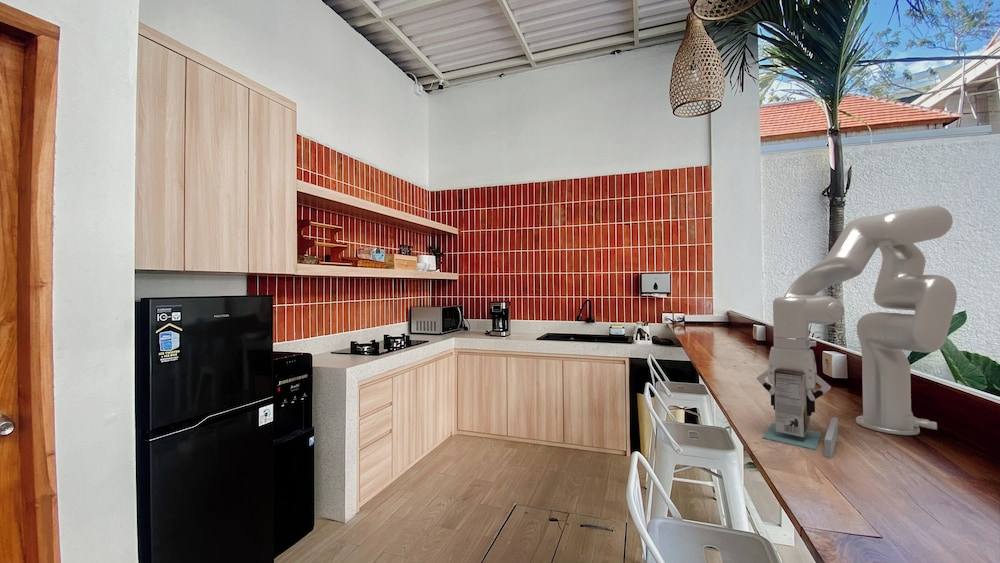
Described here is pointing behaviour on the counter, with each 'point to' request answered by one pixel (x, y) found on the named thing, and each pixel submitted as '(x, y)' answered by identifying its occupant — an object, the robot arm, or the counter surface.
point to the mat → (794, 438)
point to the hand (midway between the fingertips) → (792, 411)
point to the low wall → (831, 437)
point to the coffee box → (791, 403)
